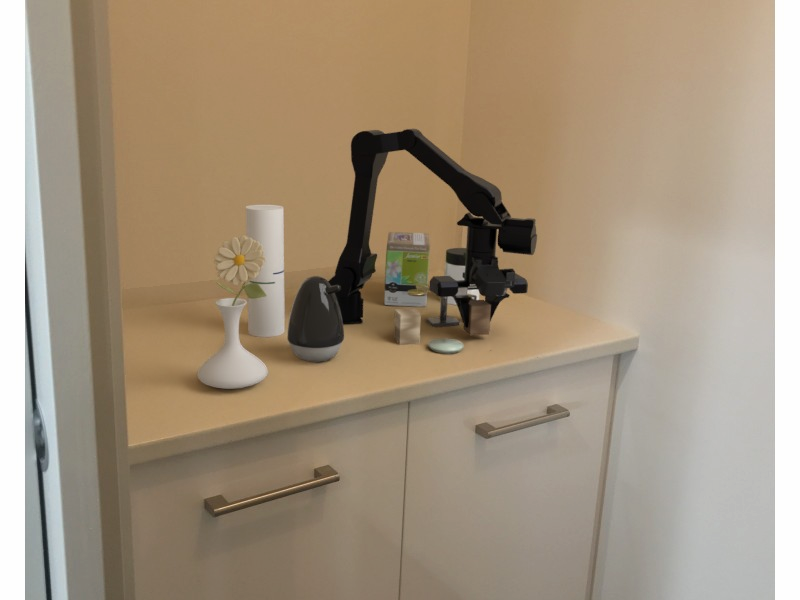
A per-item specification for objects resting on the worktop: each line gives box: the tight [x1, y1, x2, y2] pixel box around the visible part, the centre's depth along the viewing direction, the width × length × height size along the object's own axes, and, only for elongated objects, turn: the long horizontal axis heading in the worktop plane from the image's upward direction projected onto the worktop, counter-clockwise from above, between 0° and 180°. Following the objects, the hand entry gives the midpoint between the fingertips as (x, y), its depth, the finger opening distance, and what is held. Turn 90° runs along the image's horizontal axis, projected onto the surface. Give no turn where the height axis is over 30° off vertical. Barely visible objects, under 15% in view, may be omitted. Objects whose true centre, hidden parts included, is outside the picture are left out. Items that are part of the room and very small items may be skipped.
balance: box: [408, 284, 477, 328], centre depth 163 cm, size 16×4×9 cm, turn 106°
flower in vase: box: [197, 234, 269, 390], centre depth 125 cm, size 13×11×25 cm
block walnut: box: [462, 299, 491, 336], centre depth 154 cm, size 4×4×6 cm
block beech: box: [393, 308, 422, 346], centre depth 151 cm, size 4×4×6 cm
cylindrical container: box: [245, 204, 286, 338], centre depth 152 cm, size 7×7×25 cm
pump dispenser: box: [286, 275, 345, 363], centre depth 139 cm, size 10×10×15 cm
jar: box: [443, 247, 481, 306], centre depth 180 cm, size 9×8×12 cm
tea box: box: [383, 231, 431, 308], centre depth 181 cm, size 15×10×15 cm, turn 179°
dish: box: [428, 338, 464, 355], centre depth 148 cm, size 7×7×1 cm
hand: (476, 326), depth 154 cm, fingers closed on block walnut, 4 cm apart
